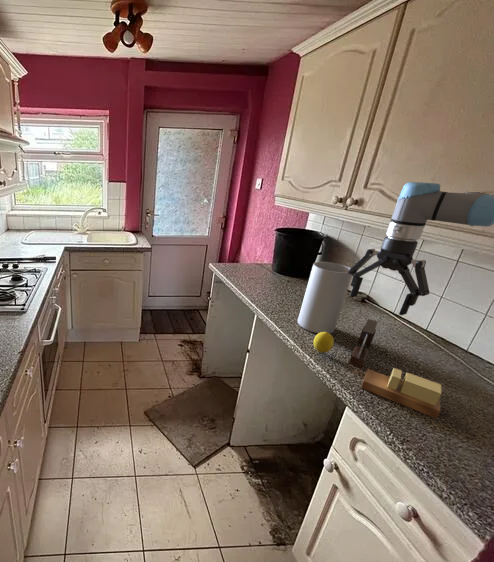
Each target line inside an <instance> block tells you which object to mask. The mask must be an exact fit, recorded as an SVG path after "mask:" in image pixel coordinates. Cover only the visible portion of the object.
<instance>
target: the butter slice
mask: <svg viewBox="0 0 494 562" xmlns="http://www.w3.org/2000/svg"><path fill="white" fill-rule="evenodd" d="M402 373H403V370H402V369H399V368H396V367H393V369H392V370H391V373H390V376H389V377H390V378H389V381H388V386H387V387H388V388H390V389H393V390H396V388H397V386H398V384H399V382H400V381H401V380H402V375H403V374H402Z"/></svg>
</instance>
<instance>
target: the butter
mask: <svg viewBox="0 0 494 562" xmlns="http://www.w3.org/2000/svg"><path fill="white" fill-rule="evenodd" d="M400 393H403V394H406V395H408V396H411V397H413V398H416V399H419V400H421V401H424V402H426V403H429V404H431V405H434V406H435V405H436V403H437V402H438V400H439V398H440V399H441V396H442V384H441V383H438V382H435V381H432V380H429V379H427V378H424V377H421V376H419V375H415V374H413V373H409V372H406V373H405V375H404V377H403V380H402V384H401V391H400Z"/></svg>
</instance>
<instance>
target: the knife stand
mask: <svg viewBox="0 0 494 562" xmlns="http://www.w3.org/2000/svg"><path fill="white" fill-rule="evenodd" d="M364 327H365V325H363V327H362V329H361V332H360V335H359V337H358V340H357V344H359V345H362V344H363V342H364V340H363V339H360V337H361V335H362V332H363V329H364ZM376 333H377V329H376V328H375V331H374V334H373V336H372V339H371V341H370V342H369V341H365V344H364V347H368V348H370V347H371V345H372V342H373V340H374V337H375V334H376ZM360 350H361V347H359V346H357V345H356V346H354V348H353V351H352V353H351V356H350V358H349V361H348V364H350V365H352V366H354V367H357V368H359V369H363V368H364V364H365V362H366V359H367V357H368V354H369V349H365V348H363V349H362V352H361V354H360V357H359V359H358V355H359V352H360Z"/></svg>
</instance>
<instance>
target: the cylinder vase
mask: <svg viewBox="0 0 494 562" xmlns="http://www.w3.org/2000/svg"><path fill="white" fill-rule="evenodd" d="M351 268H352V267H349V266H346V265H344V264H340V263H335V262H330V261H316V262H315V261H314V262H313V263H312V267H311V271H310V274H309V278H308V283H307V286H306V289H305V293H304V297H303V300H302V305H301V308H300V311H299V314H298V317H297V324H298V325H299V327H301V328H302V329H304V330H306V331H309V332H311V333H314V334H318V333H320V332H328V333H329V334H330V335H331V334H332V333H334V331H335V328H336V326H337V323H338V320H339V318H340V314H341V311H342V308H343V305H344V301H345V299H346V296H347V292H348V291H349V290H348V289H349V286H350V285H351V282H352V279H353V276H352V275H351V274H349V273H348V271H349V270H350V269H351Z"/></svg>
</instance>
